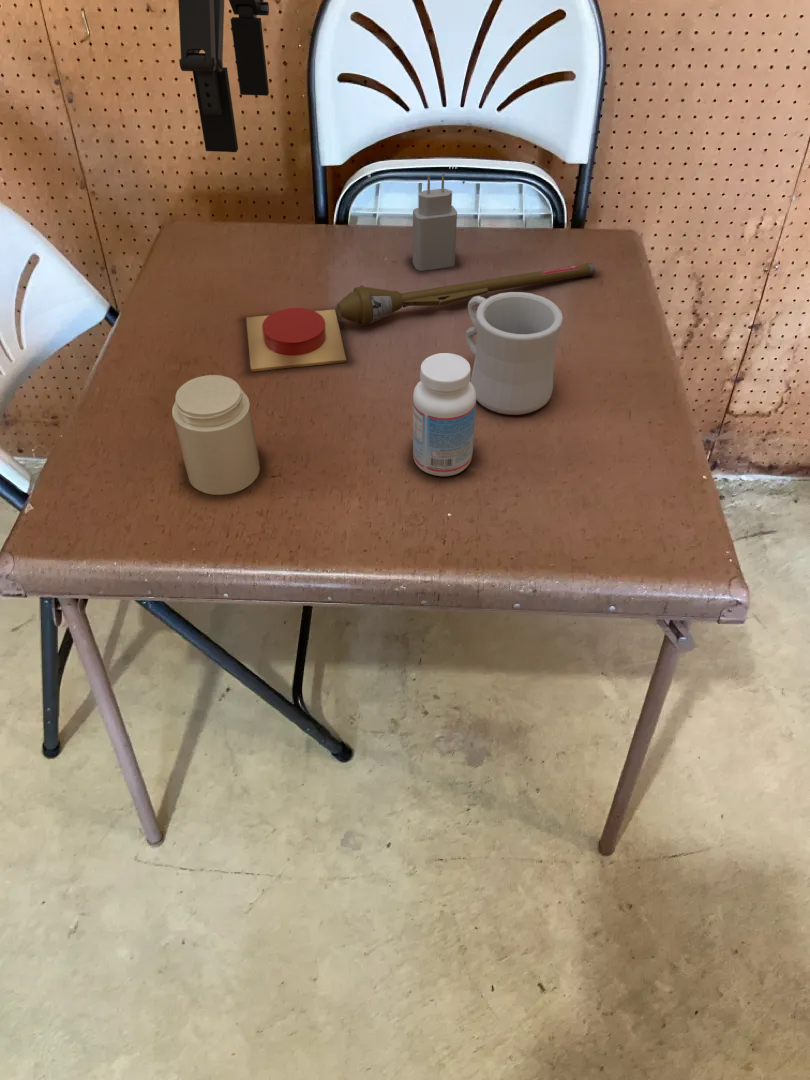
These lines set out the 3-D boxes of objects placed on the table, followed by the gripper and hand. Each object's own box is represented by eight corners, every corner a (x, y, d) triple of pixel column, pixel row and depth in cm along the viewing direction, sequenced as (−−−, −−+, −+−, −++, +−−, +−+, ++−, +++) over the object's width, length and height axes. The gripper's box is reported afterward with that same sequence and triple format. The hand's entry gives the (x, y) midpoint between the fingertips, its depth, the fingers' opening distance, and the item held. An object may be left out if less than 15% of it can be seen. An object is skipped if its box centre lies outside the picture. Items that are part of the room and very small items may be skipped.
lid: (304, 313, 104) (302, 300, 103) (338, 340, 100) (338, 327, 99) (252, 334, 101) (250, 321, 99) (286, 363, 97) (284, 349, 95)
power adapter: (411, 260, 114) (411, 171, 105) (449, 255, 115) (453, 166, 106) (417, 271, 112) (418, 181, 103) (456, 266, 113) (460, 176, 104)
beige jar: (187, 499, 82) (167, 422, 75) (187, 451, 87) (169, 375, 80) (262, 490, 83) (249, 413, 76) (258, 443, 87) (245, 367, 81)
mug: (568, 397, 93) (582, 318, 86) (507, 429, 89) (516, 348, 82) (494, 347, 100) (501, 269, 92) (434, 374, 96) (437, 295, 89)
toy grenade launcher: (578, 274, 114) (596, 294, 111) (332, 314, 104) (344, 337, 101) (587, 242, 110) (605, 262, 108) (333, 281, 100) (346, 304, 97)
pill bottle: (482, 452, 87) (490, 360, 78) (452, 486, 83) (458, 394, 75) (432, 432, 89) (435, 341, 81) (401, 464, 85) (400, 372, 77)
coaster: (250, 371, 96) (250, 369, 96) (246, 320, 104) (246, 317, 103) (346, 362, 98) (346, 359, 97) (335, 311, 105) (335, 309, 105)
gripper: (207, -151, 54) (250, 179, 69) (280, -199, 71) (302, 75, 86) (93, -153, 54) (161, 176, 70) (193, -200, 71) (230, 72, 87)
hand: (239, 120), depth 78 cm, fingers open, 13 cm apart
